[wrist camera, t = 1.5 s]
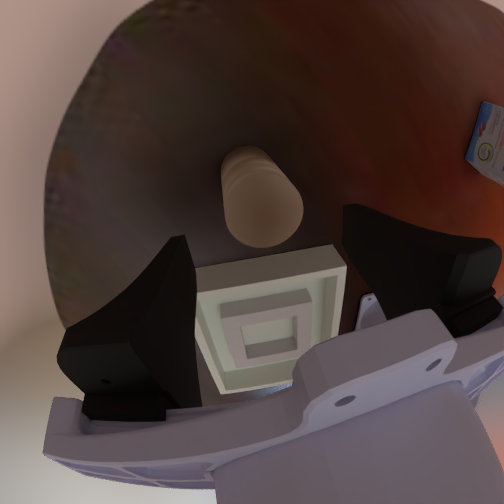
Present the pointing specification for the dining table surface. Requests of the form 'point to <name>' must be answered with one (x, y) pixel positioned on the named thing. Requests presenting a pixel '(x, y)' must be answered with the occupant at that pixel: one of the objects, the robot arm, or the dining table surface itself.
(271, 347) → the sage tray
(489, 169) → the medicine box
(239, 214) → the birch peg
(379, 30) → the dining table surface
